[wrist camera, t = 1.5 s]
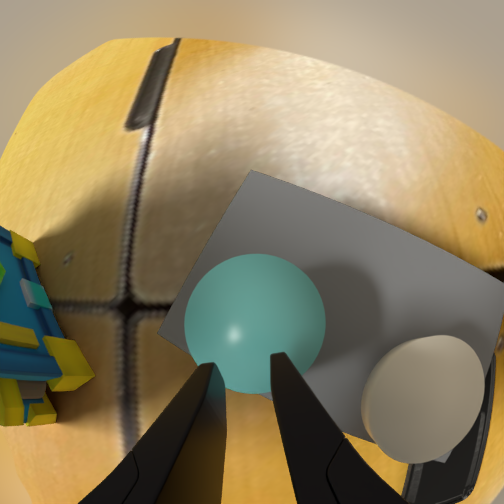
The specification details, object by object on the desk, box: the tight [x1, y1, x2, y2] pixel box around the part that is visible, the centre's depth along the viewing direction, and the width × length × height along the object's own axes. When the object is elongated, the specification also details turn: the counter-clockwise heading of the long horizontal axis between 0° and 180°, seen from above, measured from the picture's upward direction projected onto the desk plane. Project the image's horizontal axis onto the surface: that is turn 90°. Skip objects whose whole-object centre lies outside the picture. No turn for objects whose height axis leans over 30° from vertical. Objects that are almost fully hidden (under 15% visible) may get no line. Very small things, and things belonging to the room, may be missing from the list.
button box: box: [157, 170, 504, 463], centre depth 17 cm, size 11×18×8 cm, turn 62°
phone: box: [401, 353, 496, 504], centre depth 15 cm, size 8×1×15 cm
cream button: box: [361, 335, 485, 464], centre depth 10 cm, size 5×5×5 cm
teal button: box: [184, 254, 326, 394], centre depth 13 cm, size 5×5×5 cm
